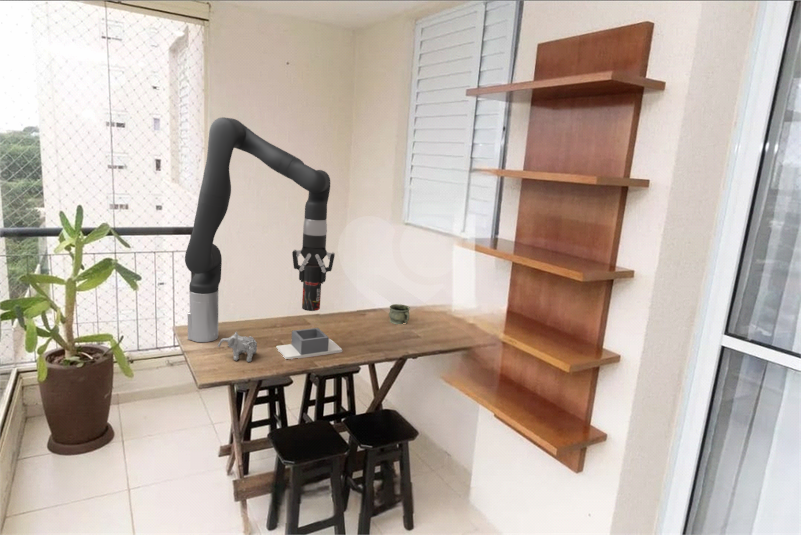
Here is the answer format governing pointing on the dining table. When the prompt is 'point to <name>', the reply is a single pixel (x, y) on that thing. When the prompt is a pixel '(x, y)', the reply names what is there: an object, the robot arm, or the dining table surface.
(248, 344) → the gray elephant figurine
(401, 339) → the dining table surface
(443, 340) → the dining table surface
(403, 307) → the vessel
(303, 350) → the socket stand
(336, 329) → the dining table surface
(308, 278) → the deodorant
